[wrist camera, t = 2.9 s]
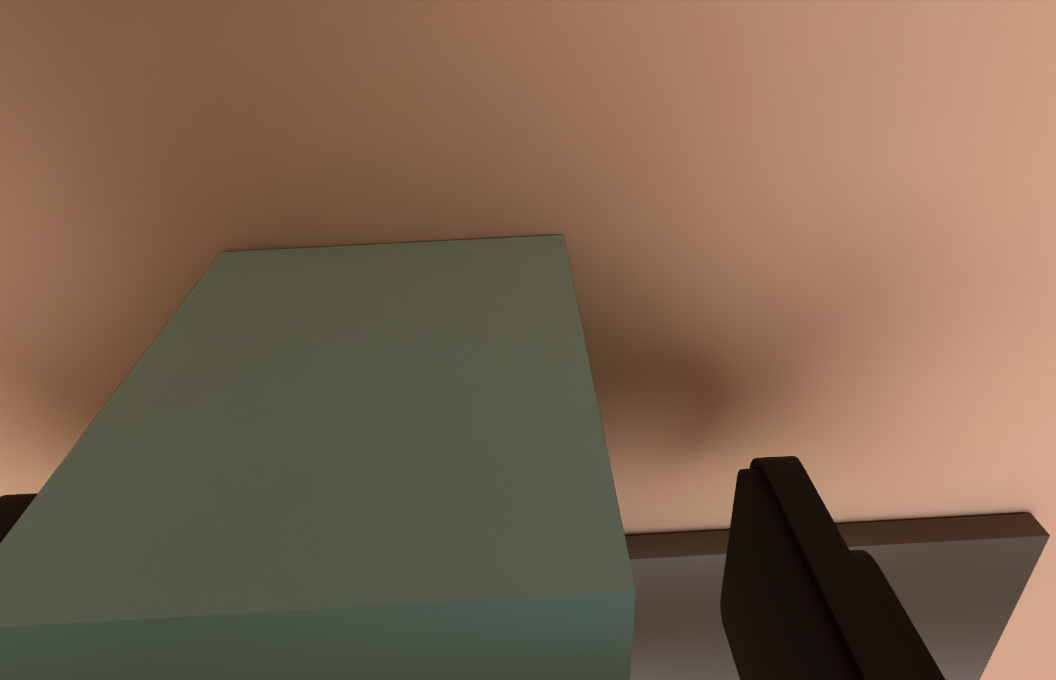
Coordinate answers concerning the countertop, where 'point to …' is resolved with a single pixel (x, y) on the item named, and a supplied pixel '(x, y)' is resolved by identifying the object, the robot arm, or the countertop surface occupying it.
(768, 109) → the countertop surface
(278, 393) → the teal cuboid
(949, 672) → the grey base plate
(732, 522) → the robot arm
